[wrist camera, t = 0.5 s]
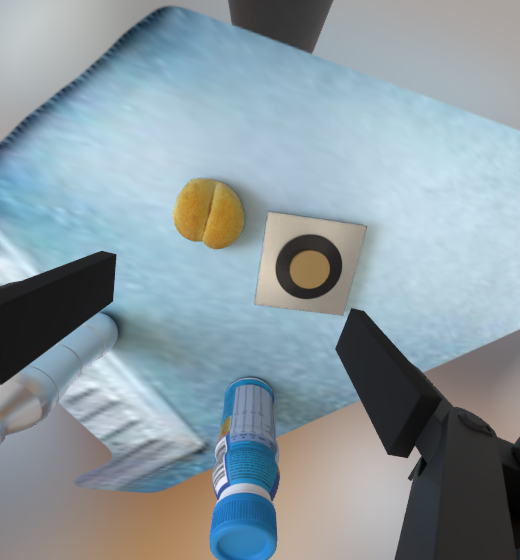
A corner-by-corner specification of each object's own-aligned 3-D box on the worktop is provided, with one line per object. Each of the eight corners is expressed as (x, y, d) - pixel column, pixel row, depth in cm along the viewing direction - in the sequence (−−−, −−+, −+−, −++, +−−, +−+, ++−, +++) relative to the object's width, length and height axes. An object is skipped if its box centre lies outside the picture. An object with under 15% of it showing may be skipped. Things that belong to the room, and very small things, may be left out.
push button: (267, 210, 34) (268, 212, 32) (362, 224, 35) (371, 227, 32) (254, 300, 38) (254, 308, 36) (339, 311, 39) (346, 320, 36)
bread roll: (233, 254, 36) (230, 261, 32) (171, 229, 35) (160, 234, 31) (255, 196, 34) (255, 197, 30) (189, 168, 33) (180, 165, 29)
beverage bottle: (264, 368, 42) (269, 511, 23) (281, 406, 45) (297, 563, 26) (216, 383, 43) (184, 532, 24) (235, 420, 46) (220, 581, 27)
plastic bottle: (77, 338, 40) (-83, 467, 21) (84, 300, 38) (-86, 407, 19) (118, 350, 41) (0, 486, 22) (127, 314, 39) (5, 430, 20)
